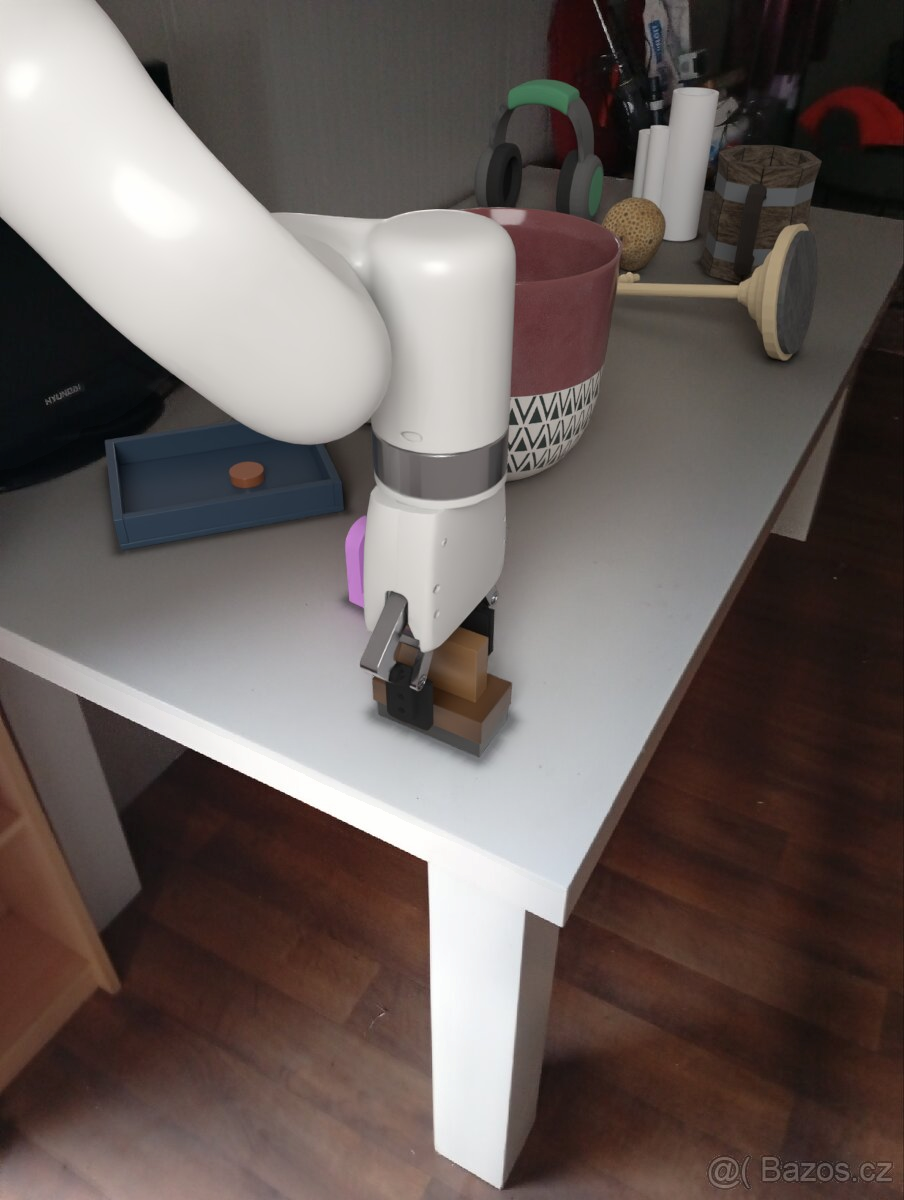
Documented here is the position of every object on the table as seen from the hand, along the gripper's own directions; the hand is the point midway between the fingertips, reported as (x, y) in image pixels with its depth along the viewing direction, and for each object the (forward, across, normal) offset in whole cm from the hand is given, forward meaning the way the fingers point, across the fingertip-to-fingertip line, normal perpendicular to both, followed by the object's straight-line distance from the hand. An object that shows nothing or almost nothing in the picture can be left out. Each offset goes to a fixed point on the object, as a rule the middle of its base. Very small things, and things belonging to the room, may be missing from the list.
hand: (441, 681), depth 64 cm
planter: (+4, -32, -13) cm, 35 cm away
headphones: (+4, -105, -44) cm, 114 cm away
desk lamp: (+4, -65, -14) cm, 66 cm away
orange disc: (+3, -17, -31) cm, 36 cm away
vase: (+4, -109, -24) cm, 112 cm away
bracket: (+4, -14, -9) cm, 17 cm away
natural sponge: (+4, -90, -22) cm, 93 cm away
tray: (+3, -16, -33) cm, 37 cm away
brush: (+3, 0, 0) cm, 3 cm away
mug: (+4, -97, -7) cm, 97 cm away
